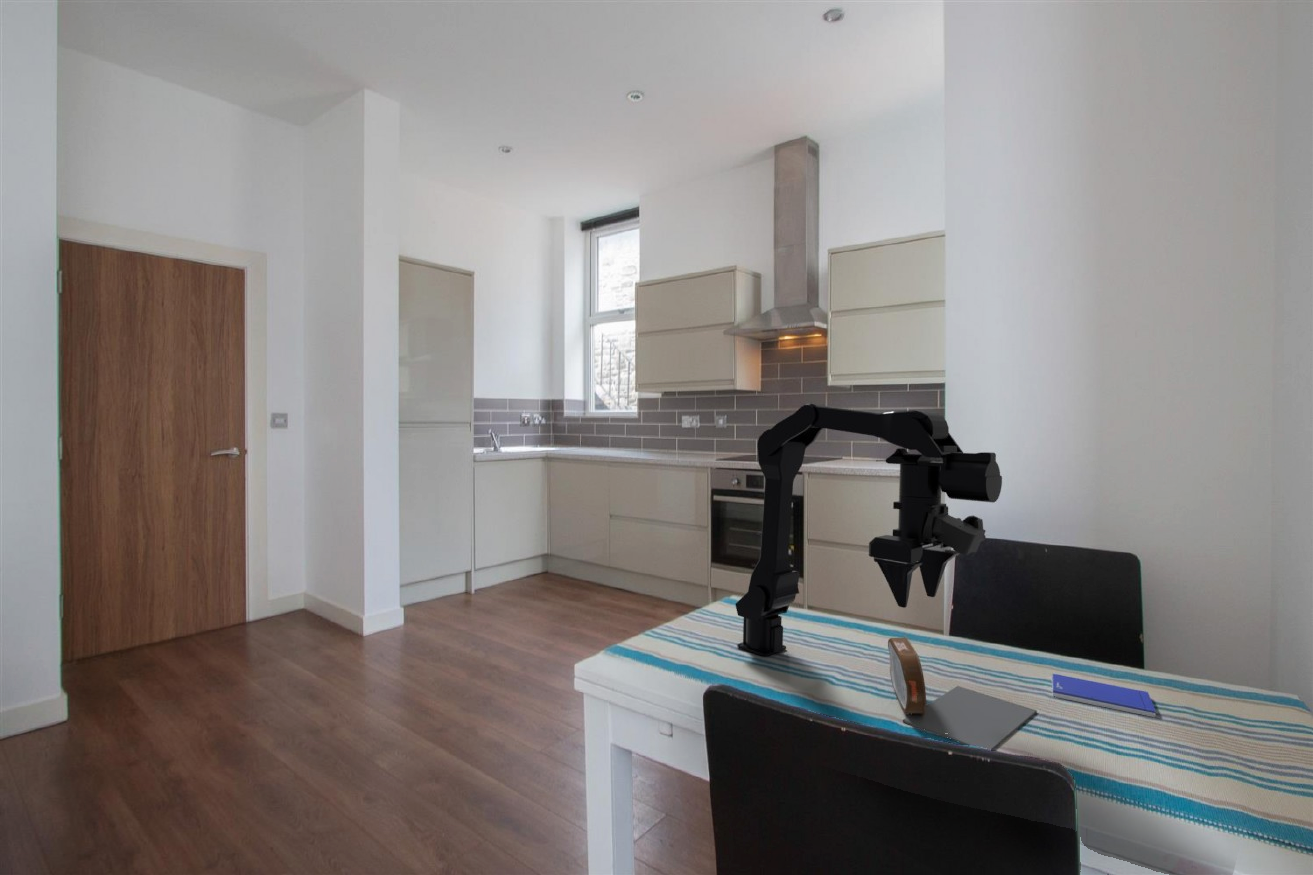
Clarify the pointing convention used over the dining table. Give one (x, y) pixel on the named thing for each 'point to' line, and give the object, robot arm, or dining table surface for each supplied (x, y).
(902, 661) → the tin
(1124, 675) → the dining table surface
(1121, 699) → the hard drive
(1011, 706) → the mat
